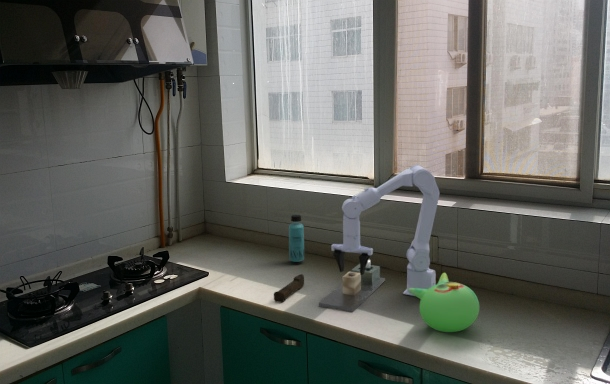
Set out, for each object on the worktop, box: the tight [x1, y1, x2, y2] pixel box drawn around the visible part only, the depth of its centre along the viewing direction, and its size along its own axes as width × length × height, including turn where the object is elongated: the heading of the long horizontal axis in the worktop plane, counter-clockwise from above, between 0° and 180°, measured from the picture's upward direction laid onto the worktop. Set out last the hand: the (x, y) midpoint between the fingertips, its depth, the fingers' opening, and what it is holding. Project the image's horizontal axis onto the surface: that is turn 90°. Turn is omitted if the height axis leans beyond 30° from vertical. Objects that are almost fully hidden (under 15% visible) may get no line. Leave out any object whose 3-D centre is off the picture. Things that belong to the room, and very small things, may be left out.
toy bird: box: [408, 272, 480, 333], centre depth 165 cm, size 18×17×15 cm
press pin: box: [365, 258, 372, 271], centre depth 205 cm, size 4×4×4 cm
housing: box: [341, 271, 361, 295], centre depth 194 cm, size 4×6×6 cm
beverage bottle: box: [288, 214, 305, 263], centre depth 228 cm, size 6×7×20 cm
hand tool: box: [273, 273, 305, 303], centre depth 197 cm, size 19×4×5 cm, turn 151°
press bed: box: [318, 263, 386, 313], centre depth 195 cm, size 12×31×6 cm, turn 153°
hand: (352, 272), depth 193 cm, fingers open, 7 cm apart
